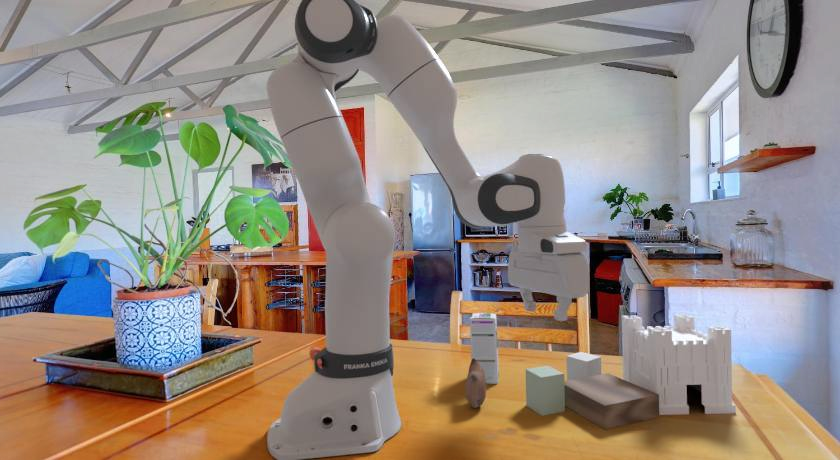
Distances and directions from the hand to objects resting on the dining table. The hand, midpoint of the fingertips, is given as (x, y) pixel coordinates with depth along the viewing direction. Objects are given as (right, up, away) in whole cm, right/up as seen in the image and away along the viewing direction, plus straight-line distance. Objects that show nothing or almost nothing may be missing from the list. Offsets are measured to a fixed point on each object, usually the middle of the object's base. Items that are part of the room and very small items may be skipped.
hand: (544, 315), depth 82 cm
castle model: (+26, -17, +3) cm, 31 cm away
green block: (0, -18, 0) cm, 18 cm away
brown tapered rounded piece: (-13, -18, +3) cm, 22 cm away
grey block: (+12, -17, +12) cm, 24 cm away
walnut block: (+11, -17, -1) cm, 21 cm away
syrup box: (-9, -18, +16) cm, 26 cm away
